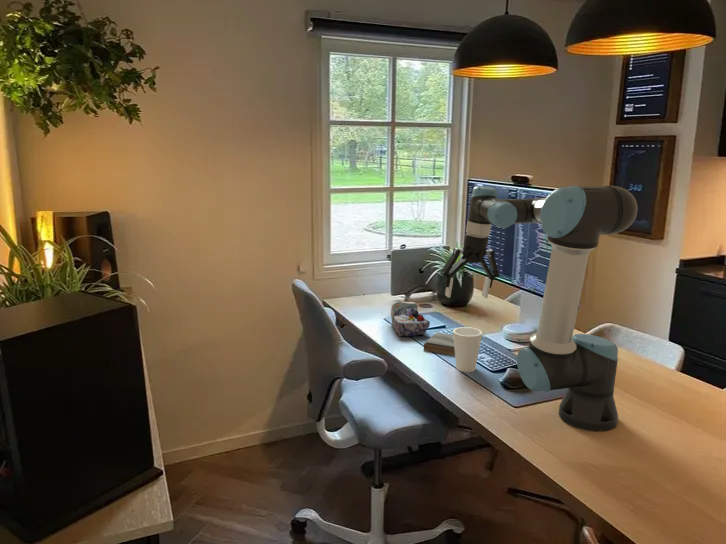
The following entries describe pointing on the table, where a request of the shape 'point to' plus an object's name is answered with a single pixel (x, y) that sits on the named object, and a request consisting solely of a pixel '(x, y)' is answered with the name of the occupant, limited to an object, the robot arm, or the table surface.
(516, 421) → the table surface
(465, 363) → the foam cup
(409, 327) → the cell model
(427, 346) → the stand
